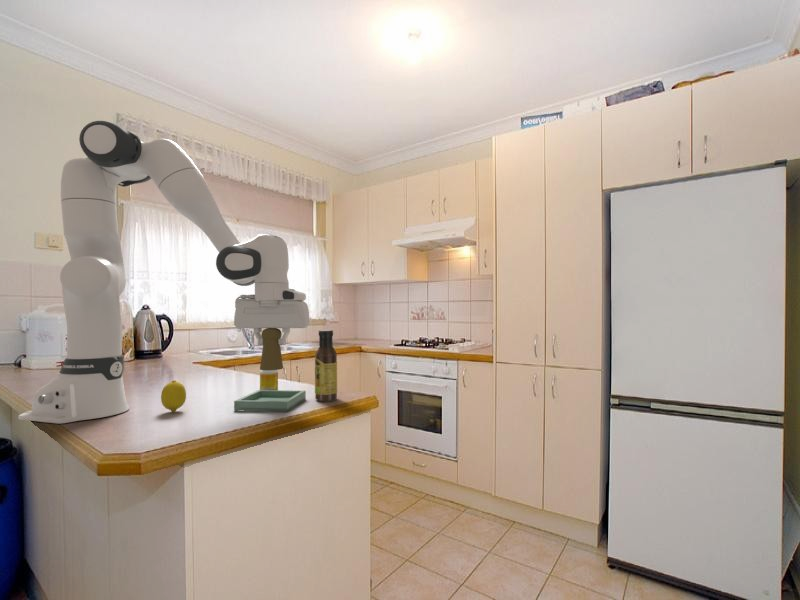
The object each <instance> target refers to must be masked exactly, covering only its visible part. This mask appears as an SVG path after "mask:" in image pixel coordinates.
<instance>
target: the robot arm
mask: <svg viewBox="0 0 800 600" xmlns="http://www.w3.org/2000/svg"><path fill="white" fill-rule="evenodd" d="M78 140H79V146H80V147H81V151H82V152H83V153H84V154H85V156H86V158H85V157H79V158H73V159H70V160H68V161H66V163H65V164H64V165H63V167H62V172H61V180H60V204H61V215H62V226H63V227H62V228H63V235H64V239H65V241H66V244H67V248H68V251H69V252H68V253H69V256H70V260H69V261H68V262H67V263H65V264H64V265H63V267H62V268H61V271H60V275H59V278H60V283H61V291H62V292H61V293H62V303H63V309H64V315H65V321H66V358H64V361H57V362H55V364H57V365H56V366H55V367H56V368H59V367H61V368H60V370H59V374H58V375H57V376H56V377H54V378H53V379H52V380H50V381H49V382H48V383H46V384H45V385H43V386H41V388H39V389H37V391H35V393H34V394H33V399H32V402H31V403H32V404H31V410H27V411H25V412H23V413H20V414H18V418H17V419H18V420H22V421H31V422H32V421H33V422H40V423H50V424H60V425H61V424H66V423H73V422H77V421H86V420H93V419H101V418H105V417H111V416H114V415H118V414H122V413H125V412H127V411H128V410H129V409H130V406H129V404H128V402H127V397H126V392H125V386H124V385H125V384H124V379H123V373H124V369H125V360H124V359H125V358H124V355H123V323H122V315H121V305H120V303H121V302H120V296H121V295H122V294H123V293H124V291H125V288H126V285H127V283H126V282H127V281H126V273H125V267H124V266H125V265H124V259H123V251H122V246H121V240H120V233H119V223H118V212H117V209H118V207H117V199H116V188H117V186H120V187H128V186H132V185H136V184H142V183H143V184H144V183H146V182H148V181H149V180H152V181H153V183H154V184H155V186H156V187H157V189H158V190H159V192H160V193H161V194H162V196H163V197H164V198H165V200H167V202H168V203H169V204H170V205H171V206H172V207H173V208H174V209H175V210H176V211H177V212H178V213H180V214H181V215H182V216H184V217H185V218H186V219H188V220H189V221H191V222H192V224H194V225H196V226H197V228H199V229H201V231H202V232H203V233H204V234H205V235H206V237H208V239H209V240H210V242H211V243H212V245H213V246H214V248H215V249H216V251H218V254H217V256H216V259H215V260H216V261H215V267H216V269H217V271H218V273H219V274H220V275H221V276H222V277H223V278H224V279H226V280H228V281H230V282H233V283H234V284H235V285H237V286H241V287H248V286H251V285H254V294H240V295H239V296H237V298H236V299H235V301H234V305H235V306H234V307H235V312H234V316H233V317H234V319H233V325H234V326H235V328H236V329H253V334H254V336H255V338H256V339H257V346H263V342H264V340H263V339H262V331H263V329H267V328H277V329H282V330H281V333H283V334H282V336H281V338H280V339H278V342H279V343H278V345H280V346H286V345H287V338H288V337H289V335H290V333H291V329H306V328H308V327H309V325H310V322H311V321H310V319H311V318H310V311H309V306H308V303H307V302H306V300H307V295H306V293H304V292H302V291H298V290H295V289H293V288H292V289H291V288H290V287H289V286H290V285H289V279H288V278H289V277H288V273H289V268H290V267H289V265H290V264H289V250H288V249H289V248H288V244H287V242H285V241H286V240H284V239H283V238H282V237H279V236H277V235H273V234H269V233H259V234H257V236H255V237H254V238H252V239H249V240H248V241H244V242H240V241H239V240H238V238H237V237H236V236H235V234H234V233H233V231H232V230H231V228H230V227H229V226H228V224H227V223H226V221H225V219H224V218H223V216H222V214H221V211H220V210H219V207H218V205H217V202H216V200H215V198H214V195H213V193H212V191H211V188H210V186H209V184H208V183H207V181H206V179H205V177H204V176H203V173H201V171H200V169H199V168H198V166H196V164H195V163H194V162H193V160H192V159H191V158H190V157H189V155H188V154H187V153H186V152H185V151H184V150H183V149H182V148H181V147H180V145H178V144H177V143H176V142H174V141H173V140H170V139H166V138H158V139H157V138H156V139H154V140H152V141H149V142H143V141H141V138H140V137H139V136H138V135H137V134H135V133H133V132H131V131H129V130H128V129H126V128H124V127H122V126H120V125H118V124H116V123H113V122H109V121H105V120H95V121H91V122H89V123H87V124H85V126H84V127H83V128H82V129H81V131H80V133H79V139H78ZM233 283H232V284H233Z"/></svg>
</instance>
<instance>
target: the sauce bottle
mask: <svg viewBox="0 0 800 600" xmlns="http://www.w3.org/2000/svg"><path fill="white" fill-rule="evenodd" d="M333 336H334V331H333V330H332V329H319V330H318V338H319V339H318V340H319V342H318V346H319V347H318V349H317V350H316V352H315V354H314V355H315V356H314V394H315V396H314V398H315V400H317V402H325V403H326V402H333V401H336V400H337V397H338V361H337V360H338V359H337V357H338V355H337V351H336V350H335V348H334V346H333V345H334V344H333Z"/></svg>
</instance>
